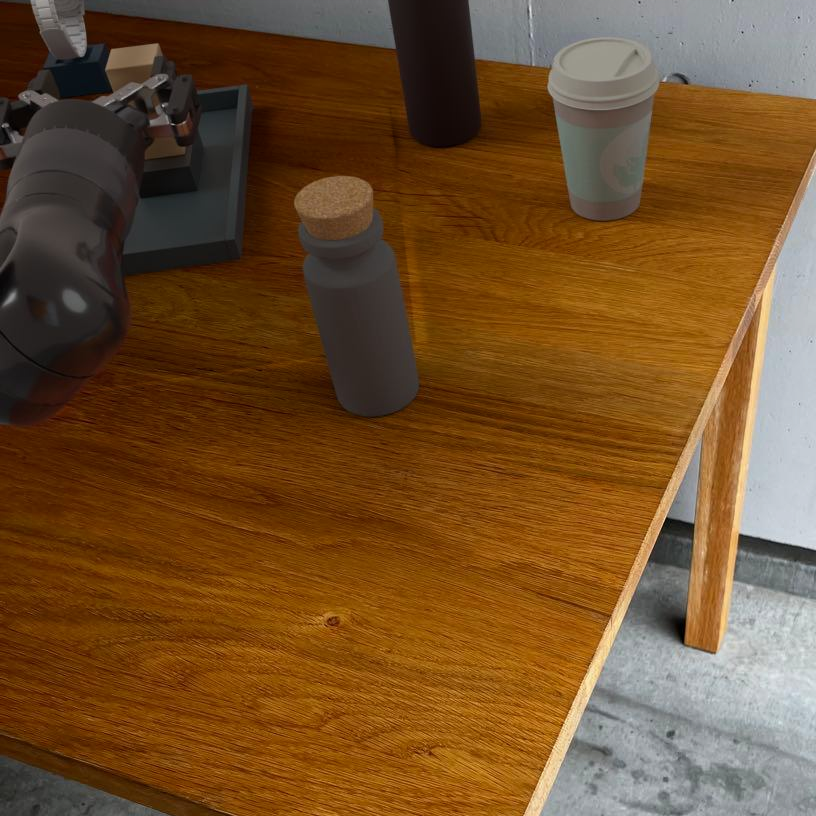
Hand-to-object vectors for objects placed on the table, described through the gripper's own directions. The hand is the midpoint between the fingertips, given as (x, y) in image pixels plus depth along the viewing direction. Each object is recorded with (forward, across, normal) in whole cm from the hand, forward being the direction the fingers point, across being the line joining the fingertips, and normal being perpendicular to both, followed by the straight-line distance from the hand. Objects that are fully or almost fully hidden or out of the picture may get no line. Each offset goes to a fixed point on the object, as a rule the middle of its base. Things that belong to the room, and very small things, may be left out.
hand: (107, 75), depth 79 cm
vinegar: (+11, -25, +14) cm, 31 cm away
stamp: (+9, 0, +13) cm, 16 cm away
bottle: (-25, -17, +13) cm, 33 cm away
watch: (+31, +11, +14) cm, 36 cm away
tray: (+7, 0, +13) cm, 15 cm away
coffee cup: (-5, -37, +13) cm, 40 cm away
